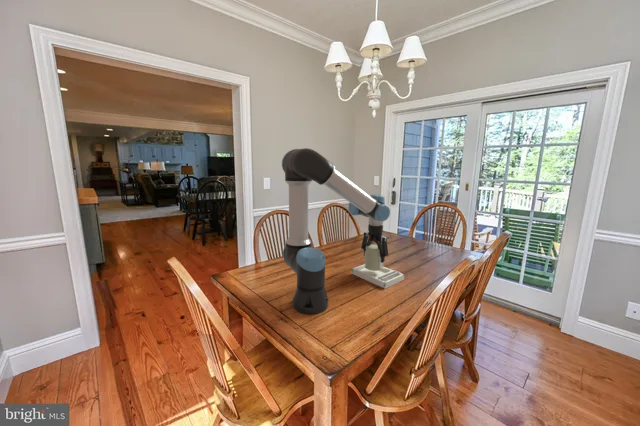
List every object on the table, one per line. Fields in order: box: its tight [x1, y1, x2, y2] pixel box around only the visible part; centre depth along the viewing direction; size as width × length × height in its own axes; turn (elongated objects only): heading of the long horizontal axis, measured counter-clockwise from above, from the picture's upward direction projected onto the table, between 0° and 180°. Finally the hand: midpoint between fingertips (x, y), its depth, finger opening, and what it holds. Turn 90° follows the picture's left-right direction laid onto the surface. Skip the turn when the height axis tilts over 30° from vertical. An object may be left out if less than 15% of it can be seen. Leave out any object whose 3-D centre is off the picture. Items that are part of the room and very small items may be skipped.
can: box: [364, 243, 382, 271], centre depth 140 cm, size 9×9×12 cm
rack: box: [351, 263, 405, 290], centre depth 139 cm, size 16×22×4 cm
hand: (373, 264), depth 141 cm, fingers closed on can, 9 cm apart
